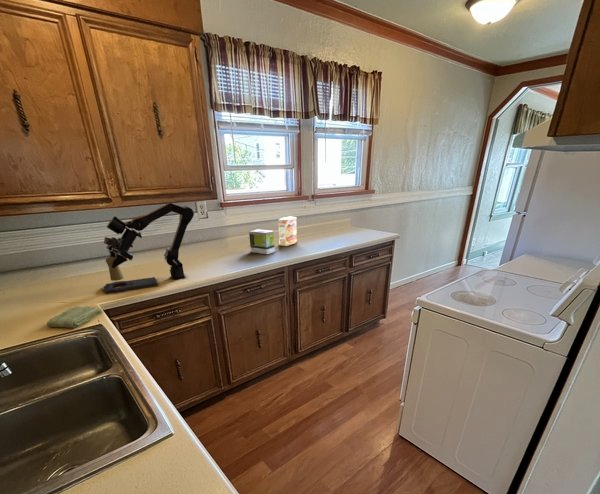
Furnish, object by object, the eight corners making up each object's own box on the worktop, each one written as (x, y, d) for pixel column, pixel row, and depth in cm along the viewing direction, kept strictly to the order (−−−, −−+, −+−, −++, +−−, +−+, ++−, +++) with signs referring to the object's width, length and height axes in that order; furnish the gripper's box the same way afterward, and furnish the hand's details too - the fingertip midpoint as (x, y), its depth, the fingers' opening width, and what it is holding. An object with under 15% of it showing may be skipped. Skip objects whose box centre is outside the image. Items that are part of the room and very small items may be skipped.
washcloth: (104, 311, 142) (102, 304, 141) (76, 329, 127) (73, 322, 125) (76, 310, 143) (73, 303, 142) (44, 328, 128) (41, 321, 126)
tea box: (275, 251, 233) (274, 230, 226) (266, 254, 226) (265, 233, 219) (259, 249, 241) (257, 228, 234) (250, 252, 233) (248, 231, 226)
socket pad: (155, 279, 181) (154, 276, 180) (157, 286, 170) (157, 283, 169) (104, 286, 171) (103, 283, 171) (103, 294, 160) (102, 291, 160)
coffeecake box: (286, 246, 248) (285, 219, 239) (278, 245, 252) (277, 218, 243) (297, 242, 260) (296, 216, 250) (289, 241, 263) (289, 216, 254)
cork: (118, 280, 162) (111, 259, 157) (108, 280, 163) (101, 258, 158) (126, 277, 167) (120, 255, 162) (116, 276, 169) (109, 255, 163)
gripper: (104, 228, 162) (88, 254, 161) (119, 232, 151) (101, 261, 149) (125, 241, 171) (109, 266, 170) (140, 246, 160) (123, 273, 158)
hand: (110, 266), depth 161 cm, fingers closed on cork, 5 cm apart
